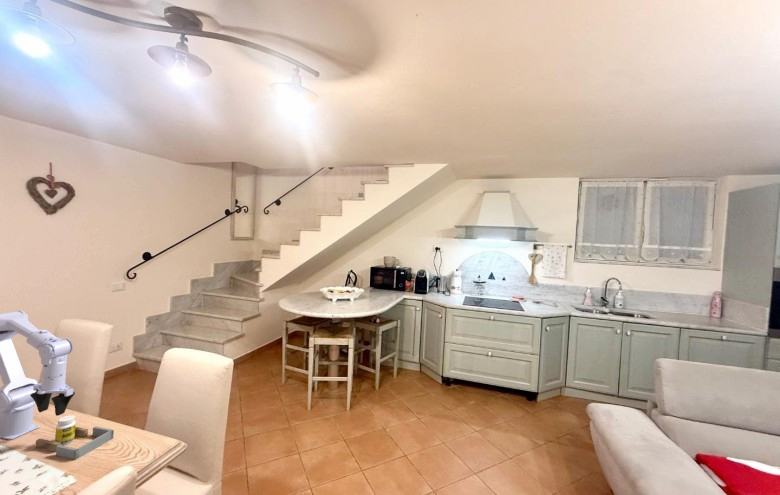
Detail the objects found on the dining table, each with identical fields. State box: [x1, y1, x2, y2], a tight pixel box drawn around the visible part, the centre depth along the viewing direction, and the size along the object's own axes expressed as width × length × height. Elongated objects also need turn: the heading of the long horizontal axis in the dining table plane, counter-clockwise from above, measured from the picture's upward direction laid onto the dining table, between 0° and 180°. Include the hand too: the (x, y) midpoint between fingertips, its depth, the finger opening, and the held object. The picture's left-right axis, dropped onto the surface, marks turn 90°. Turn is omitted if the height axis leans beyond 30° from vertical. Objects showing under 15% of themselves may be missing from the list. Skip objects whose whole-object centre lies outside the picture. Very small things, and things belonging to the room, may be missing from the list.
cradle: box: [55, 425, 115, 461], centre depth 105 cm, size 8×12×3 cm
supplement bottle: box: [54, 414, 77, 446], centre depth 107 cm, size 5×5×8 cm
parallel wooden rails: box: [35, 426, 89, 453], centre depth 107 cm, size 9×9×2 cm
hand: (51, 412), depth 108 cm, fingers open, 7 cm apart
